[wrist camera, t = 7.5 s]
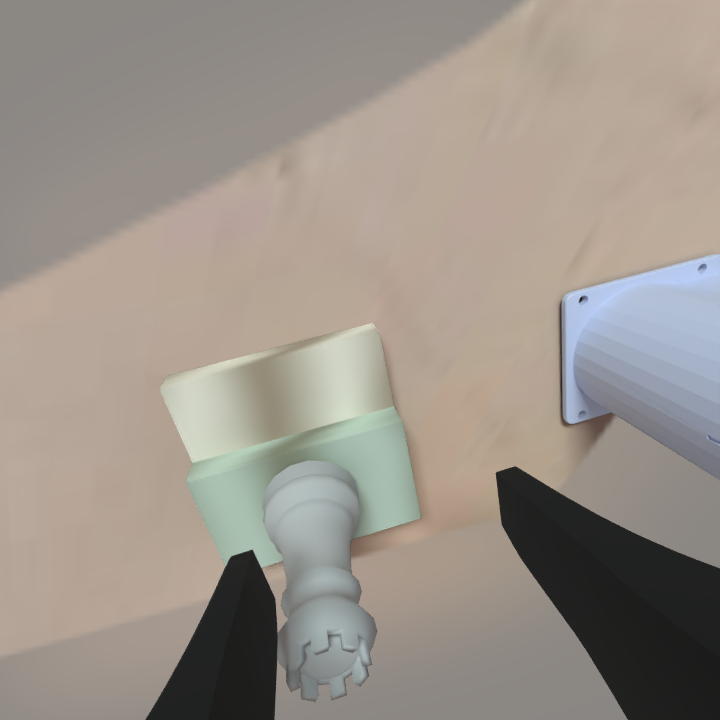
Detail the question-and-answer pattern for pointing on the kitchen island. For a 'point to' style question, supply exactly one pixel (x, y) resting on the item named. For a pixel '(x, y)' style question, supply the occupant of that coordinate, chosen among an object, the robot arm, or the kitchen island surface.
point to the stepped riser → (292, 433)
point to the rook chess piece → (318, 578)
